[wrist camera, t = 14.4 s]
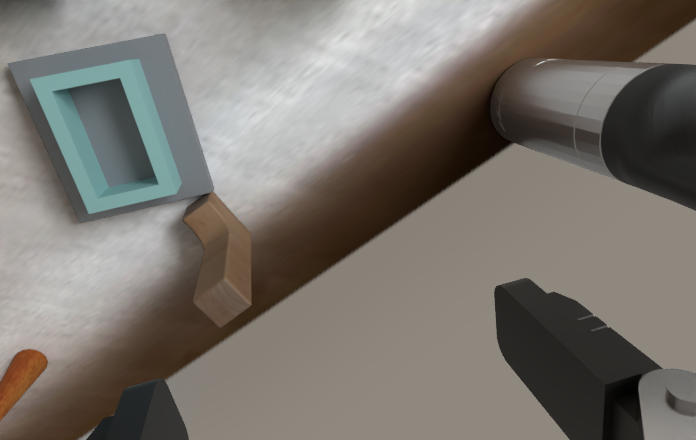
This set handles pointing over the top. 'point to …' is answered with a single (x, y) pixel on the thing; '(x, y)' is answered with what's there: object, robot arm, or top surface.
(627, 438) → the robot arm
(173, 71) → the cradle jig
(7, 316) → the top surface
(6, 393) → the kendama
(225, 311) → the wooden block
